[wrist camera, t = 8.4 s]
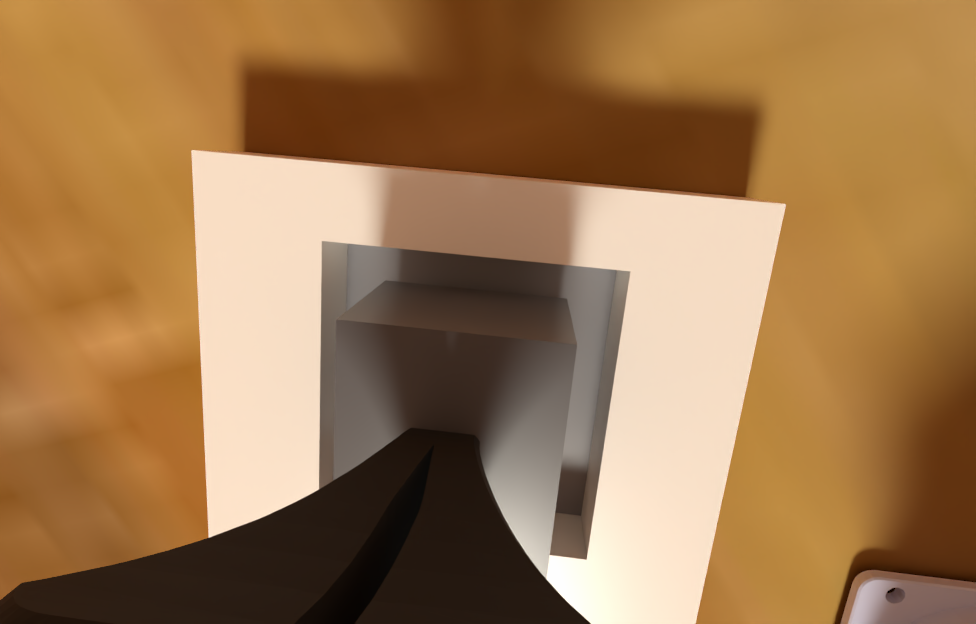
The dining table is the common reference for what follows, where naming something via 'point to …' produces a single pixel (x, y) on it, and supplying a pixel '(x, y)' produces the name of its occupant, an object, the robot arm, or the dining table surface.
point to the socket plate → (503, 268)
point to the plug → (462, 387)
